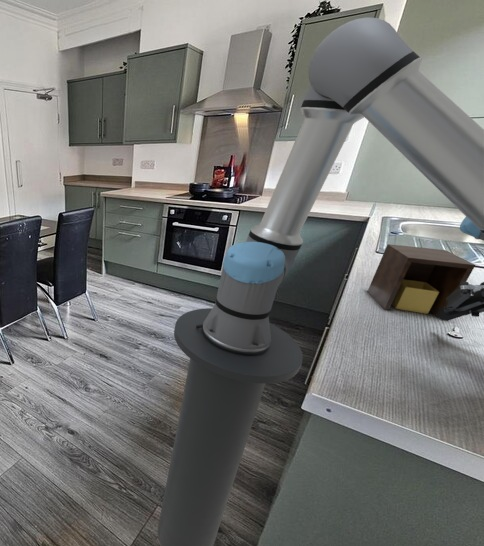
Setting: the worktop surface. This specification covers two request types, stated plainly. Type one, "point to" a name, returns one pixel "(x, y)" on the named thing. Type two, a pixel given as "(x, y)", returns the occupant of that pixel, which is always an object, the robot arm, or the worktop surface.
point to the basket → (415, 296)
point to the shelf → (418, 273)
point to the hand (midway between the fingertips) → (443, 315)
